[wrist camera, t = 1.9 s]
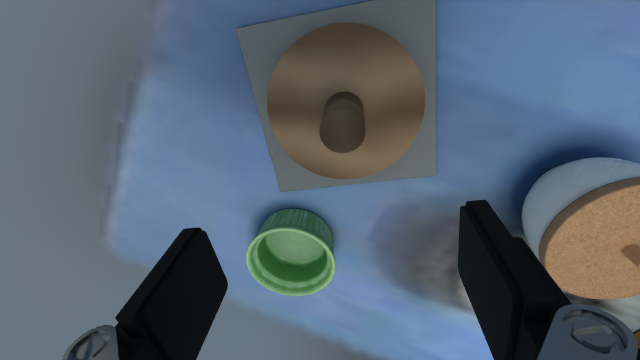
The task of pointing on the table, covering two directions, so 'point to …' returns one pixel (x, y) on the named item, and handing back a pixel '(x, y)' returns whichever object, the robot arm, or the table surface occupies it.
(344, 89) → the walnut lid
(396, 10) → the slate mat
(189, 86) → the table surface
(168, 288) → the robot arm
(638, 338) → the whiskey bottle
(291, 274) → the ramekin
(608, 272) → the lidded jar
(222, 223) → the table surface
